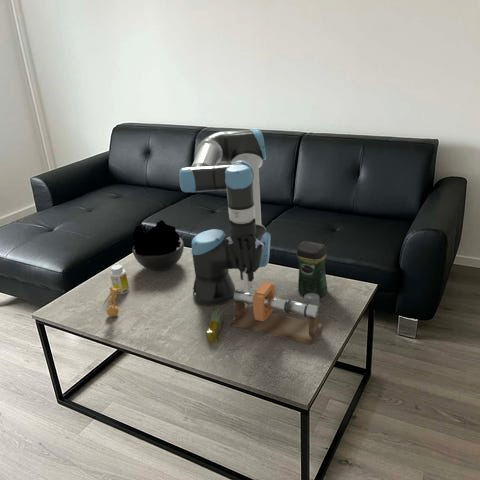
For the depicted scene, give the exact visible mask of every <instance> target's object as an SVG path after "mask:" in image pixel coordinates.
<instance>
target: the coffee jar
mask: <svg viewBox="0 0 480 480" xmlns="http://www.w3.org/2000/svg"><path fill="white" fill-rule="evenodd" d="M327 255H328V254H327V247H326V245H325V244H322V243H317V242H313V241H306V240H303V241H302V242H300V243H299V244H298V246H297V250H296V258H297V261H298V283H297V292H298V293H299V294H301V295H304V296H305V295H306V294H308V293H316V294H318V295H319V298H320V297H322V296H324V295H325V294H326V292H327V290H328V285H327V284H328V283H327V275H326V266H325V265H326V264H325V263H326V258H327Z"/></svg>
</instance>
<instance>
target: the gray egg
mask: <svg viewBox="0 0 480 480" xmlns="http://www.w3.org/2000/svg"><path fill="white" fill-rule="evenodd" d="M303 301H304V302H303V303H305V304H307V303H309V304H310V305H315V306H318V313H319V314H320V297H319V295H318V294H316V293H308V294H306V295H304V296H303Z"/></svg>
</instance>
